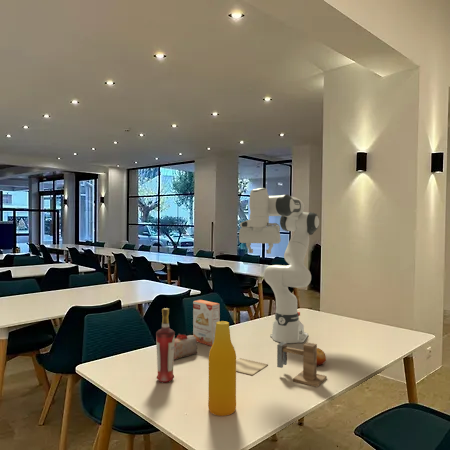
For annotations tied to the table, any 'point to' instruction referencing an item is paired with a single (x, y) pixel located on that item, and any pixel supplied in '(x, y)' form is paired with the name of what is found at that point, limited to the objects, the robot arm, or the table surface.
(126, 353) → the table surface
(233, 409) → the beer bottle
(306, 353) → the stand
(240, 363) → the mat
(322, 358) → the fruit
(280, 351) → the arch
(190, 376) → the table surface
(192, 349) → the food item
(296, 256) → the robot arm
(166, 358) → the liquor
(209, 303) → the cracker box
